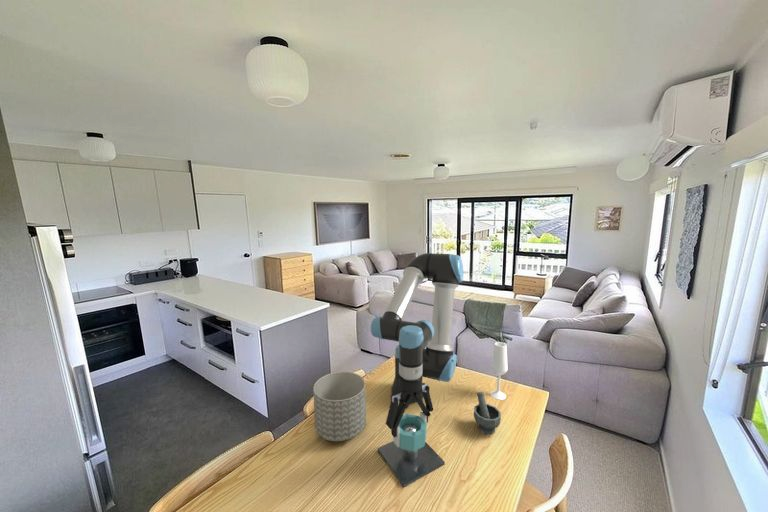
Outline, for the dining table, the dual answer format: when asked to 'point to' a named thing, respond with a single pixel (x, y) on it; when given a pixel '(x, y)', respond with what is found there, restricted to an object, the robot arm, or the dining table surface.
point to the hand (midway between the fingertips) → (410, 437)
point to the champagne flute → (499, 367)
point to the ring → (412, 439)
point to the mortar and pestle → (486, 415)
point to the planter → (339, 406)
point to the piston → (410, 460)
